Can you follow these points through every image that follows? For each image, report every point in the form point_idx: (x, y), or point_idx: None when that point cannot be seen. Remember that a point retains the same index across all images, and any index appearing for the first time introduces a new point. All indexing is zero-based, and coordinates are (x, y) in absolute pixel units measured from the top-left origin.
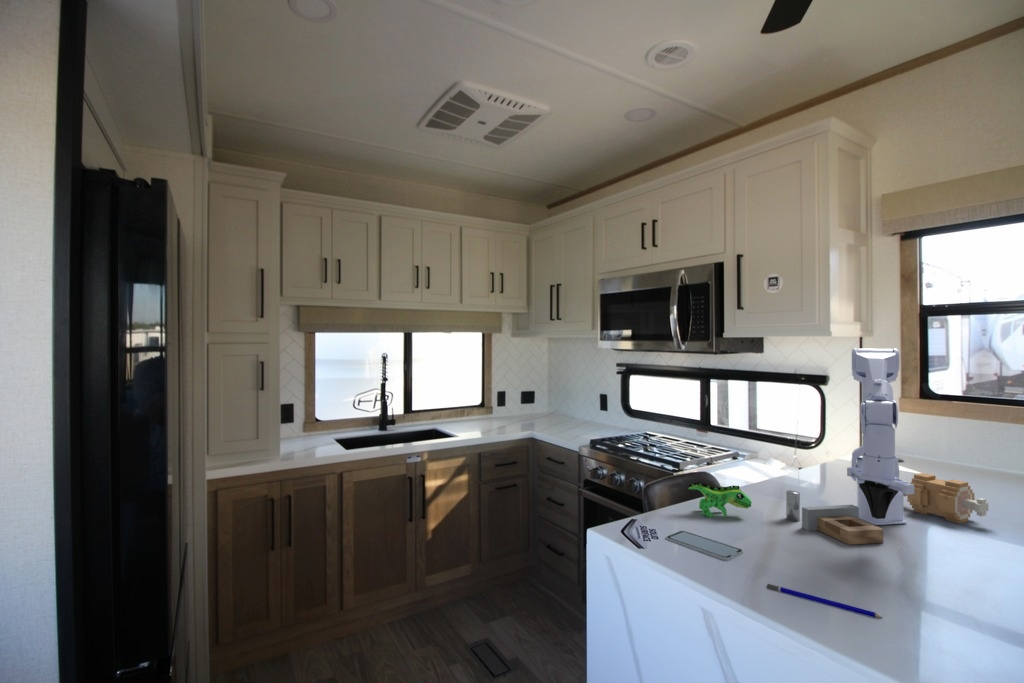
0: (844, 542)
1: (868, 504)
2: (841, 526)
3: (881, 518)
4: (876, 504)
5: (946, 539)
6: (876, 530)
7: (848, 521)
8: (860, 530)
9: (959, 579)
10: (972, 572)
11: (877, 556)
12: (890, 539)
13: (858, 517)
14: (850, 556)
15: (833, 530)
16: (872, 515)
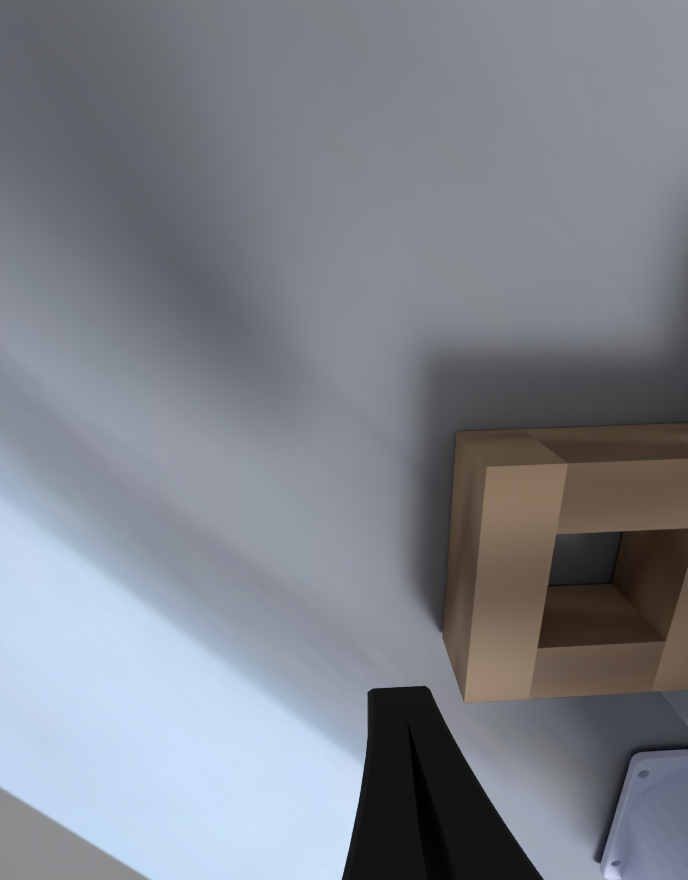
0: (490, 431)
1: (483, 798)
2: (580, 488)
3: (368, 724)
4: (357, 852)
5: None
6: (465, 657)
7: (657, 622)
8: (478, 558)
9: (8, 630)
10: (95, 731)
11: (283, 468)
12: None
13: (685, 720)
14: (296, 295)
15: (604, 442)
16: (420, 698)
